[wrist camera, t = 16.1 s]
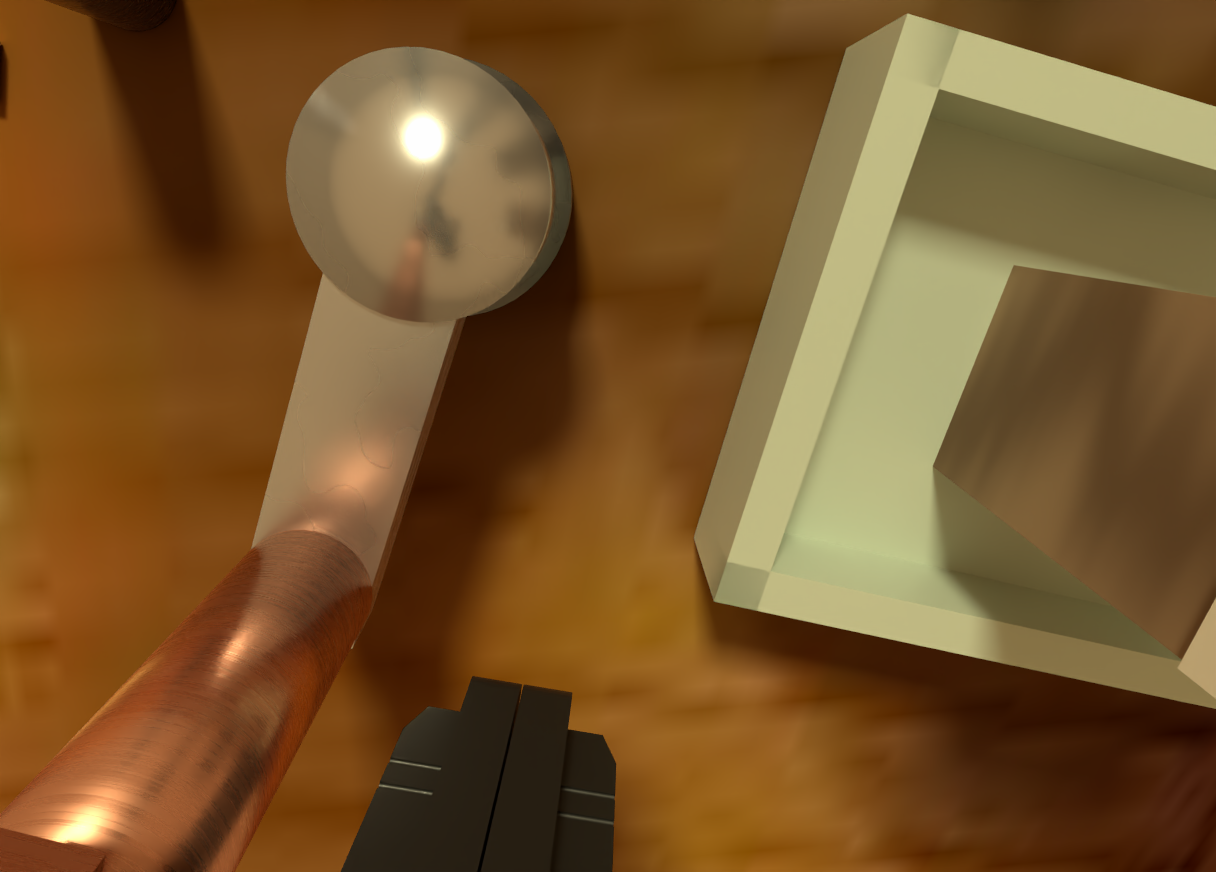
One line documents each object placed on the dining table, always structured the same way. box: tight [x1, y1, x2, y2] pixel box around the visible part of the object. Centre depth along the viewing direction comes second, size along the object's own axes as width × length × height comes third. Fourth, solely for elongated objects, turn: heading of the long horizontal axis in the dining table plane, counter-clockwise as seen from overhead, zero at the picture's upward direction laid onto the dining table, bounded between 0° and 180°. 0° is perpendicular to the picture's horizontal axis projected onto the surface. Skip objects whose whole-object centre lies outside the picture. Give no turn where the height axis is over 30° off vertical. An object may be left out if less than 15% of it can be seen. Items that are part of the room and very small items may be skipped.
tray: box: [694, 14, 1216, 709], centre depth 17 cm, size 12×15×3 cm
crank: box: [0, 47, 556, 872], centre depth 11 cm, size 12×4×11 cm, turn 159°
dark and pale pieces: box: [0, 0, 573, 316], centre depth 14 cm, size 6×16×5 cm, turn 76°
